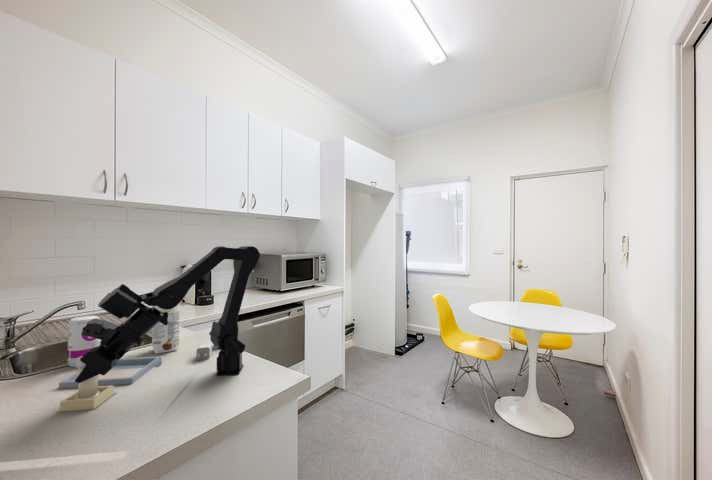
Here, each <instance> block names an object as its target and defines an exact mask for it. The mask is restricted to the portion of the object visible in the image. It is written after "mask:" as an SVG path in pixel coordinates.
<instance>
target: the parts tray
mask: <svg viewBox="0 0 712 480" xmlns="http://www.w3.org/2000/svg"><path fill="white" fill-rule="evenodd" d="M161 365H162V356H147V357H146V356H145V357H130V358H120V359H119V360H117V364H116V365H115V366H114V367H113V368H112V369H111V370H110V371H116V370H131V369H132V370H133V369H140V370H138V371H137V372H136V373H134V374H132V375H131V376H125V377H124V376H122V377H121V376H120V377H109V378H107V377H106V378H98V386H112V385H114V386H119V385H133V384H134V383H136V382H137V381H138V380H139V379H141V378H142V377H143V376H145V375H146V374H147V373H149V372H150V371H151V370H153V369H155V368H159V367H160V366H161ZM77 377H78V372H76V373H74V374H72V375H71V376H69V377H67V378H65V379H63V380H62V381H60V382H58V389H59V390H60V389H61V390H62V389H73V388H76V389H77V388H78V383H77V382H75V380H76V378H77Z"/></svg>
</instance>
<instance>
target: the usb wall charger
mask: <svg viewBox="0 0 712 480" xmlns="http://www.w3.org/2000/svg"><path fill="white" fill-rule="evenodd" d="M212 353H213V343H212V342H210V343H201V344H200V345H199V346H198V348H197V349H196V359H197V361H200V360H208V359H210V358H211V355H212Z"/></svg>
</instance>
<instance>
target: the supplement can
mask: <svg viewBox="0 0 712 480" xmlns="http://www.w3.org/2000/svg"><path fill="white" fill-rule="evenodd" d="M95 318H96V319H101V318H100V317H99V315H94V314H93V315H84V316H83V315H82V316H78V317H74V318H71V319H70V321H69V322H68V324H67V365H68V364H69V365H68V366H69V367H71V368H76V359H77V358H79V357H81V356H84V355H85V354H86V353H87V352H88V351H89V350H91V349H92V348H94V347H100V344H101V343H99V342H101V341H102V339H96V338H93V337H89V336H87V337H86V336H83V335H81V333H82V332H83V330H82V329H83V327H85V326H86V325H87V323H88V321H90V320H92V319H95Z"/></svg>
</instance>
